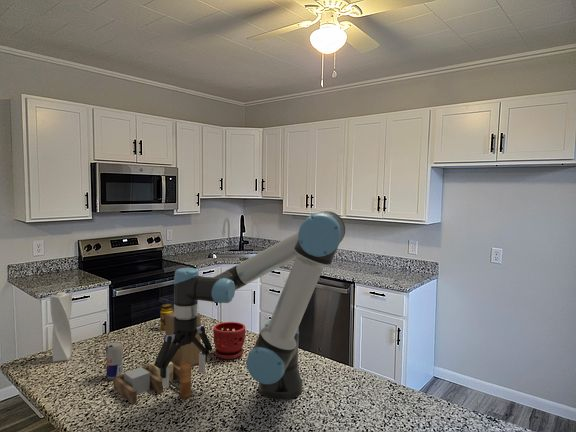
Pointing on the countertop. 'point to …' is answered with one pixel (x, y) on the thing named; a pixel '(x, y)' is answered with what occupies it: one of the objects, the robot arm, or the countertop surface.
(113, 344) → the energy drink
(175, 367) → the lane rack
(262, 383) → the robot arm
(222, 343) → the plant pot
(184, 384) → the corded block
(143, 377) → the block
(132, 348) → the countertop surface
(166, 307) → the condiment
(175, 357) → the wooden block
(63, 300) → the skyscraper
